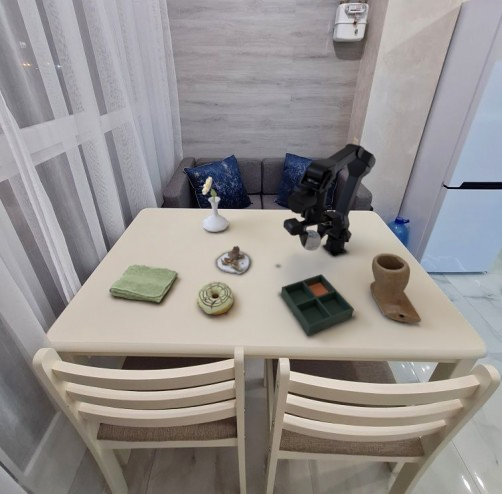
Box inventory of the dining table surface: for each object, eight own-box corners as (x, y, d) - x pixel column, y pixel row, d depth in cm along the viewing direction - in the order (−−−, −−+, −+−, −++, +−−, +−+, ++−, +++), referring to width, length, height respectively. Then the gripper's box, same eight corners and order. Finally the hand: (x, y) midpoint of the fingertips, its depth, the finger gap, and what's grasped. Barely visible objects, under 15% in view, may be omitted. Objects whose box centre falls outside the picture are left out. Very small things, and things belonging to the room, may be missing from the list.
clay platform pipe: (359, 283, 87) (368, 246, 80) (396, 285, 86) (409, 248, 80) (376, 323, 73) (388, 283, 67) (420, 326, 72) (437, 286, 66)
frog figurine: (222, 249, 102) (222, 241, 100) (252, 254, 99) (252, 246, 98) (212, 270, 91) (212, 261, 90) (246, 275, 89) (246, 266, 88)
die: (320, 249, 86) (322, 237, 84) (306, 252, 85) (307, 239, 83) (313, 240, 91) (314, 228, 89) (299, 243, 89) (301, 230, 87)
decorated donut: (207, 323, 72) (206, 314, 71) (192, 298, 80) (191, 288, 79) (239, 306, 78) (239, 297, 76) (222, 283, 86) (221, 274, 84)
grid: (320, 281, 87) (321, 274, 86) (351, 317, 75) (354, 309, 73) (281, 295, 82) (281, 286, 80) (308, 335, 69) (309, 327, 68)
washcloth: (161, 306, 78) (159, 298, 76) (107, 297, 80) (105, 289, 79) (180, 274, 89) (179, 267, 88) (132, 267, 92) (130, 260, 91)
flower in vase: (207, 219, 122) (203, 168, 111) (231, 221, 120) (229, 170, 110) (198, 235, 110) (193, 180, 99) (224, 237, 109) (222, 182, 98)
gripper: (325, 188, 91) (319, 226, 97) (277, 196, 84) (274, 236, 91) (347, 202, 81) (339, 243, 88) (294, 212, 75) (290, 255, 82)
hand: (310, 244), depth 87 cm, fingers closed on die, 5 cm apart
